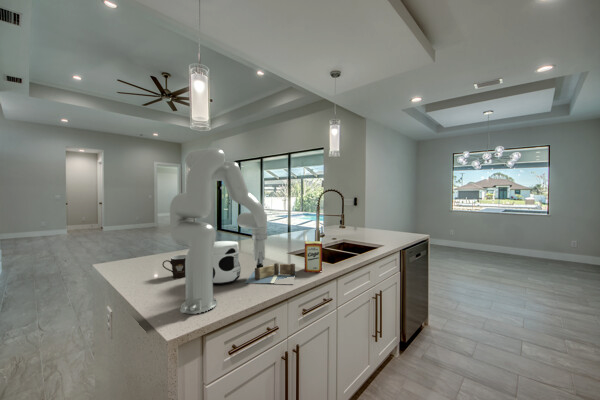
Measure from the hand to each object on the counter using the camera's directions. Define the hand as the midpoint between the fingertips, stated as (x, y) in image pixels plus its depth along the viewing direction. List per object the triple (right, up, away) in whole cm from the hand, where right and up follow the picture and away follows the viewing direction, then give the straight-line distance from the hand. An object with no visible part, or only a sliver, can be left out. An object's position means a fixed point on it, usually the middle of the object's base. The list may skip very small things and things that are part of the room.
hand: (259, 272), depth 125 cm
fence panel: (+3, -2, -1) cm, 3 cm away
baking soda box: (+28, -3, +13) cm, 31 cm away
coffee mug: (-42, -3, +1) cm, 42 cm away
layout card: (+6, -3, 0) cm, 7 cm away
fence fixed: (+12, -3, +4) cm, 13 cm away
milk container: (-18, -3, -4) cm, 18 cm away
